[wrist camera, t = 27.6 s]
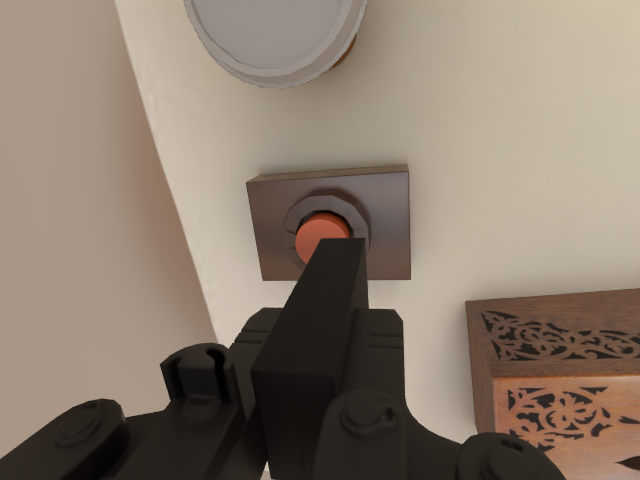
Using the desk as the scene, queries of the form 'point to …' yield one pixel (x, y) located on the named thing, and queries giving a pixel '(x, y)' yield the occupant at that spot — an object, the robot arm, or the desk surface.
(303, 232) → the button
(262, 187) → the console
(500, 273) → the desk surface
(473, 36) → the desk surface
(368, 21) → the desk surface
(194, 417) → the robot arm
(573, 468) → the tissue box cover
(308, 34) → the disposable coffee cup
